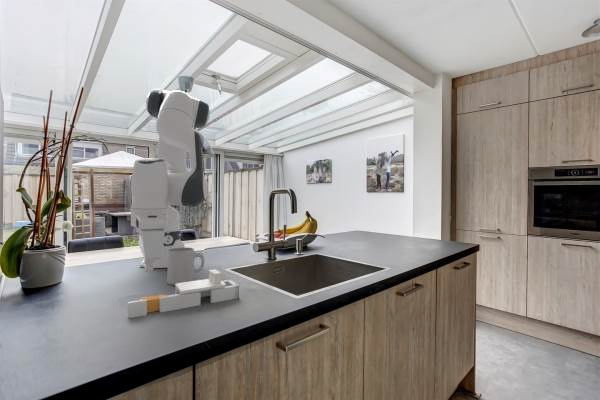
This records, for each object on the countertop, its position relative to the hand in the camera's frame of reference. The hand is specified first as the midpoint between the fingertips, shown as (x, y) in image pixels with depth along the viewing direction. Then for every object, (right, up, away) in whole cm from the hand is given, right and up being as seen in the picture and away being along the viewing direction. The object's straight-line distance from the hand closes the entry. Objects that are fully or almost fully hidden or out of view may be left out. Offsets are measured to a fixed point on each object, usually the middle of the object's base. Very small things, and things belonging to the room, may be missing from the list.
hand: (148, 270), depth 81 cm
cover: (+12, -6, +4) cm, 14 cm away
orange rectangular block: (+2, -10, -2) cm, 10 cm away
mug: (+1, -9, +23) cm, 25 cm away
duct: (+9, -10, +2) cm, 13 cm away
